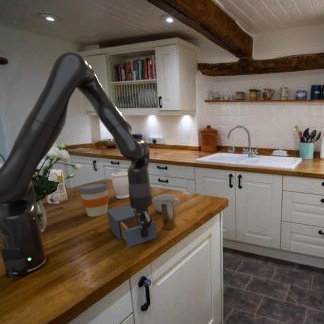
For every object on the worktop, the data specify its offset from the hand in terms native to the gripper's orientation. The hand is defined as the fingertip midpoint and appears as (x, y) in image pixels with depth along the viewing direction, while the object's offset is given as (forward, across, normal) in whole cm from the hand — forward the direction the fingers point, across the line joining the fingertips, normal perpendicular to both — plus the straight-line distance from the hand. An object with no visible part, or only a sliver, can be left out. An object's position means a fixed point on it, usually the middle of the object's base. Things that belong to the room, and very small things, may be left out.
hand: (144, 236), depth 94 cm
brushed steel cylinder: (+4, -10, +14) cm, 18 cm away
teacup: (+5, -28, +21) cm, 35 cm away
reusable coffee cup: (+5, -51, -6) cm, 51 cm away
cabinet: (+4, -20, 0) cm, 21 cm away
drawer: (+4, -9, 0) cm, 9 cm away
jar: (+5, -69, +11) cm, 70 cm away
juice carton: (+5, -85, -20) cm, 88 cm away
